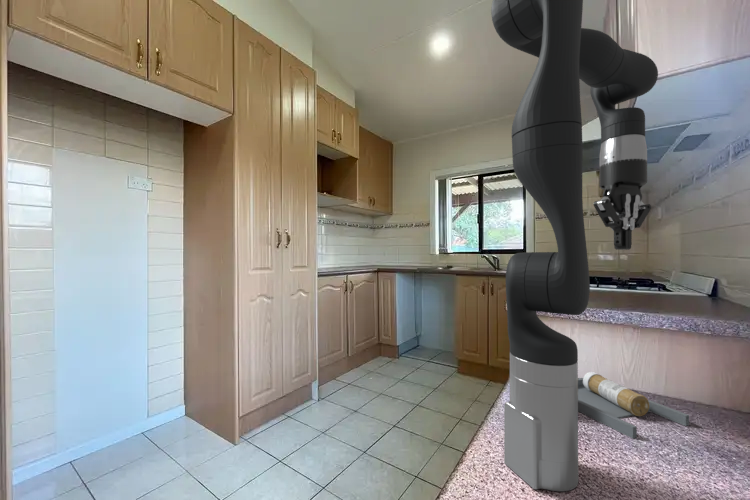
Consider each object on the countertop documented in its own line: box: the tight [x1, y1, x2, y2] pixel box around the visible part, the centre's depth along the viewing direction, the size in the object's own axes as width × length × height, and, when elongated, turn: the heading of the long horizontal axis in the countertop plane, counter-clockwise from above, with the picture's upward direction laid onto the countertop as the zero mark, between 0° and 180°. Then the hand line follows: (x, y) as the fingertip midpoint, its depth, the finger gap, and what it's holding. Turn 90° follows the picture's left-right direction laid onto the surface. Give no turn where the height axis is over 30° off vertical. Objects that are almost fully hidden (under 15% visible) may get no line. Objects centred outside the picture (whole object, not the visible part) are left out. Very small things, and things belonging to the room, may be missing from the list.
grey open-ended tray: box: [578, 377, 690, 439], centre depth 69 cm, size 16×21×2 cm
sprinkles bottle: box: [582, 371, 649, 417], centre depth 71 cm, size 5×5×13 cm
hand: (622, 249), depth 62 cm, fingers closed
